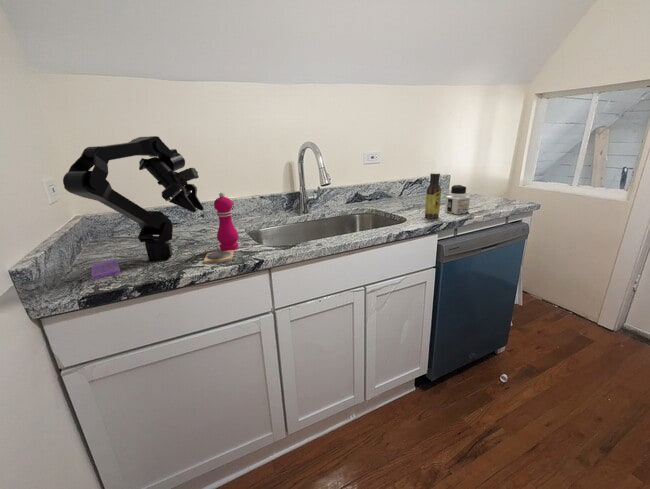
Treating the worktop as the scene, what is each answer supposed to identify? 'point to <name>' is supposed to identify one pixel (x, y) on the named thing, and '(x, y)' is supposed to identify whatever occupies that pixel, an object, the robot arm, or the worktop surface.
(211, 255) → the dock
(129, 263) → the worktop surface
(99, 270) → the sponges
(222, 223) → the pepper mill
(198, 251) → the worktop surface
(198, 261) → the worktop surface
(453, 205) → the container
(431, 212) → the sauce bottle
